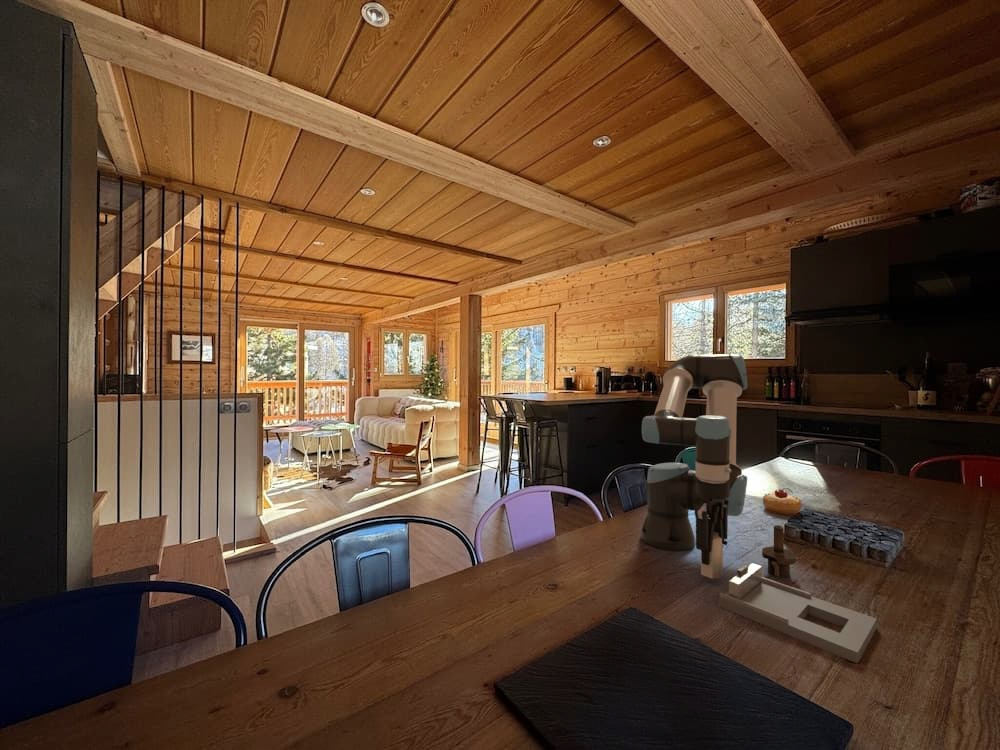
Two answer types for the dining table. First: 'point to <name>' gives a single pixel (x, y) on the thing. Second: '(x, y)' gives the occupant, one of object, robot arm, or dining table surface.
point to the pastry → (782, 503)
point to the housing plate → (790, 608)
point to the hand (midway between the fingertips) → (712, 572)
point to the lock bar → (745, 580)
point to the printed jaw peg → (717, 555)
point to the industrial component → (779, 555)
